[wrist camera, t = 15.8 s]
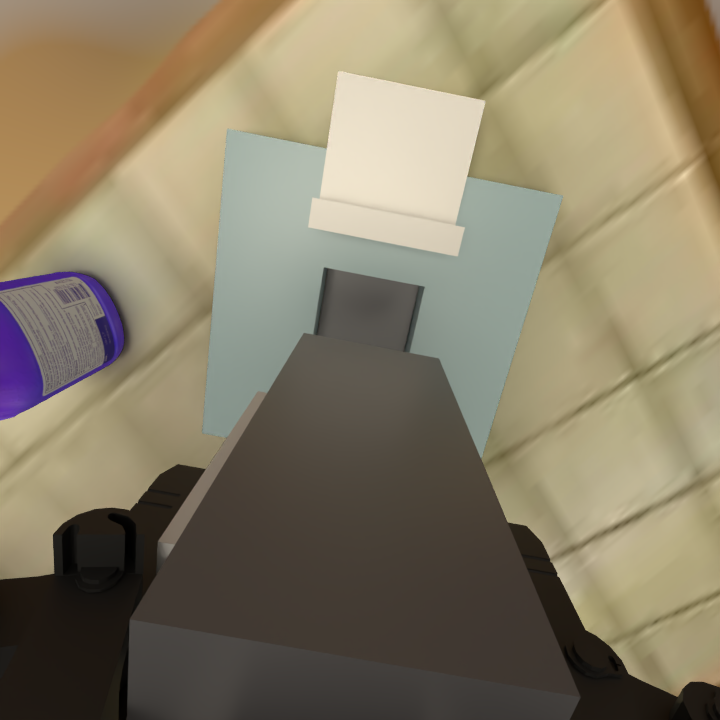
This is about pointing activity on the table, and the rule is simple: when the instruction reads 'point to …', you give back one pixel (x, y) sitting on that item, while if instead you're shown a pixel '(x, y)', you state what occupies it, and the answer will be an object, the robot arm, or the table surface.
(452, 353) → the socket plate
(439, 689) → the plug
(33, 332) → the bottle
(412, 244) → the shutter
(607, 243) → the table surface
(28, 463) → the table surface
